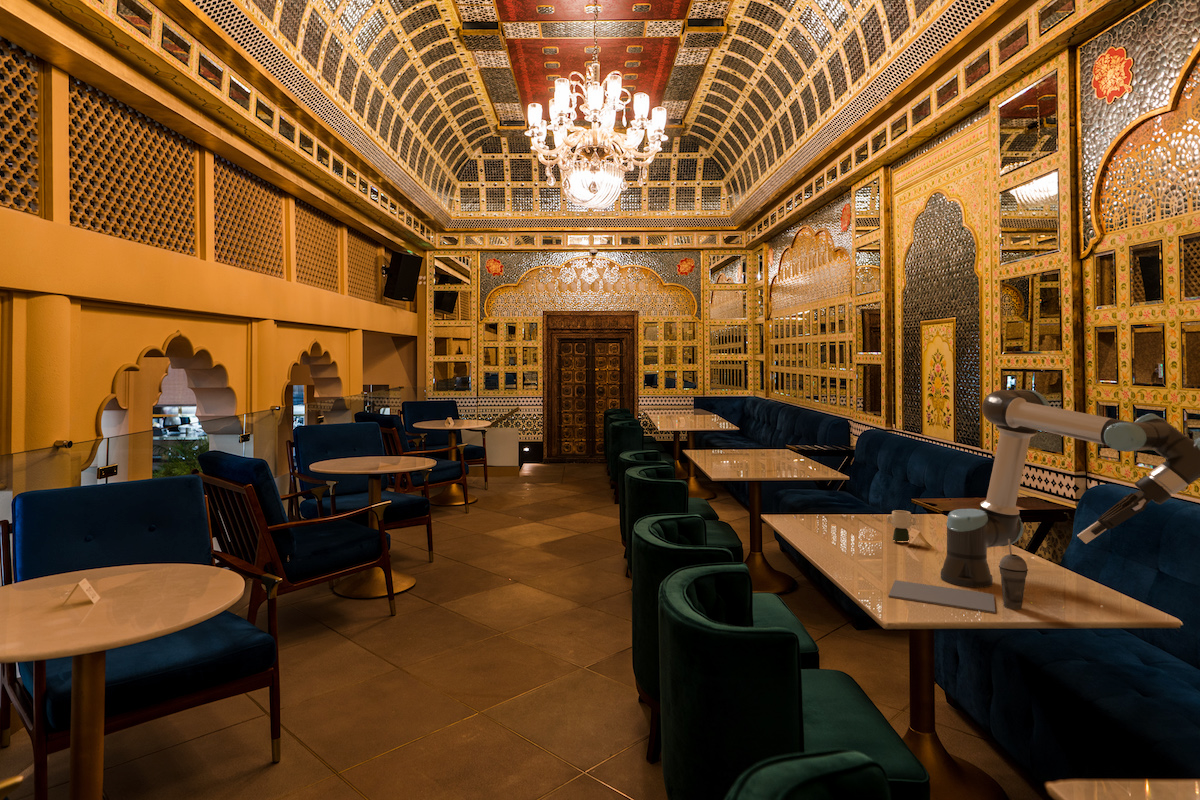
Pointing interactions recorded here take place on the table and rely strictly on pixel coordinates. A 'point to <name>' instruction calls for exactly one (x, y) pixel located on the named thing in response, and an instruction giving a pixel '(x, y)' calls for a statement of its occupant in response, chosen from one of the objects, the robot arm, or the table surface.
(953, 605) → the rubber mat
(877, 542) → the table surface
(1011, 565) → the beverage cup
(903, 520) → the character mug
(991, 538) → the robot arm
